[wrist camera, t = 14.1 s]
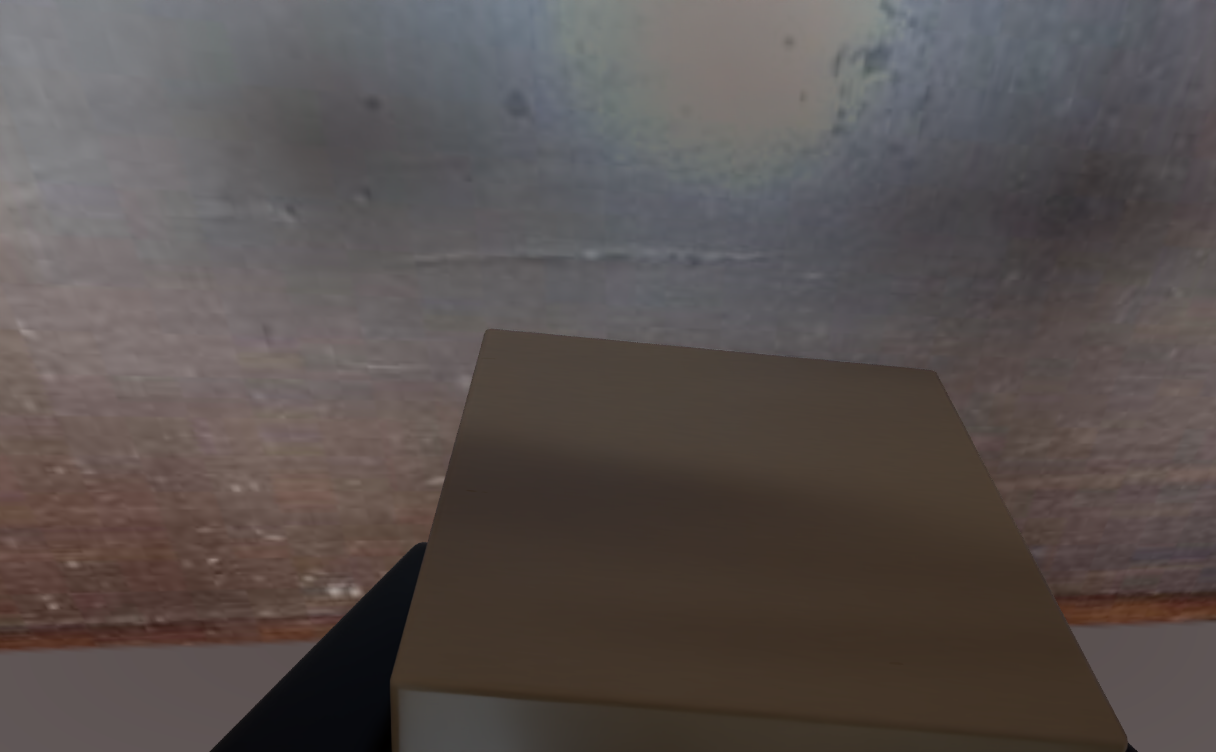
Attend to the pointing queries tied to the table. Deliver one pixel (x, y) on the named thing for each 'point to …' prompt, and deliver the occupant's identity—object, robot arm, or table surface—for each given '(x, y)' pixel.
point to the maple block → (727, 567)
